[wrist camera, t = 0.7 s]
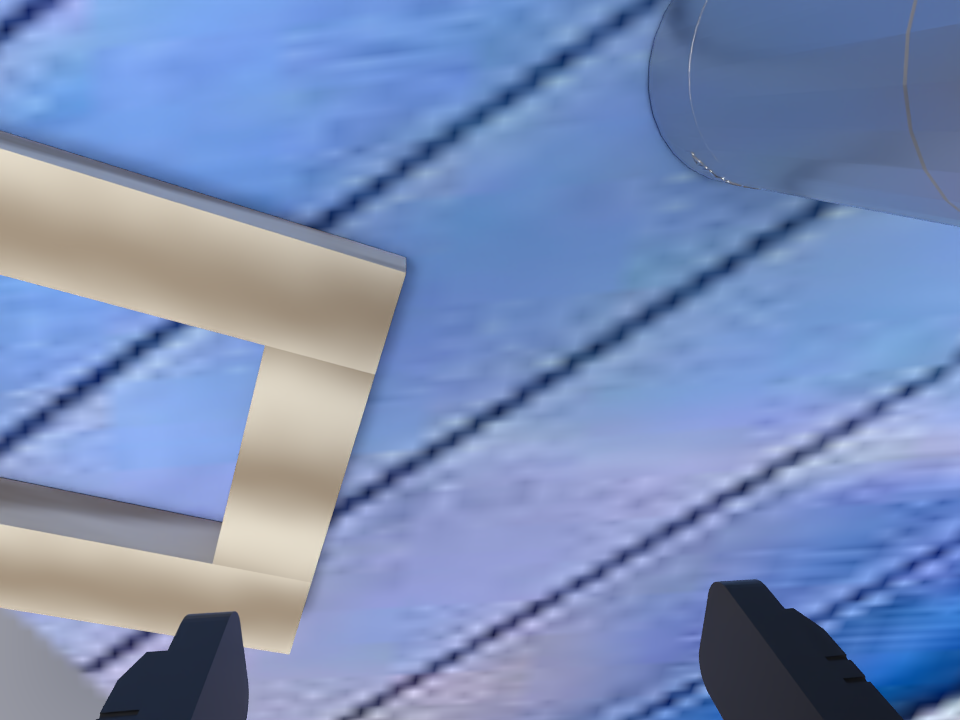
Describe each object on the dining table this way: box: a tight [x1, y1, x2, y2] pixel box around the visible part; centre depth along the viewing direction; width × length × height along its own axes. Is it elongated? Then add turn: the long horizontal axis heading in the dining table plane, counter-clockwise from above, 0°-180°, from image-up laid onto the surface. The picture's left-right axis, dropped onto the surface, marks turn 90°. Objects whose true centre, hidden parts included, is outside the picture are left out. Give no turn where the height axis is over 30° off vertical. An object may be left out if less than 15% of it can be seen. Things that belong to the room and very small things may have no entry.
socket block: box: [0, 131, 406, 654], centre depth 26 cm, size 20×21×3 cm
